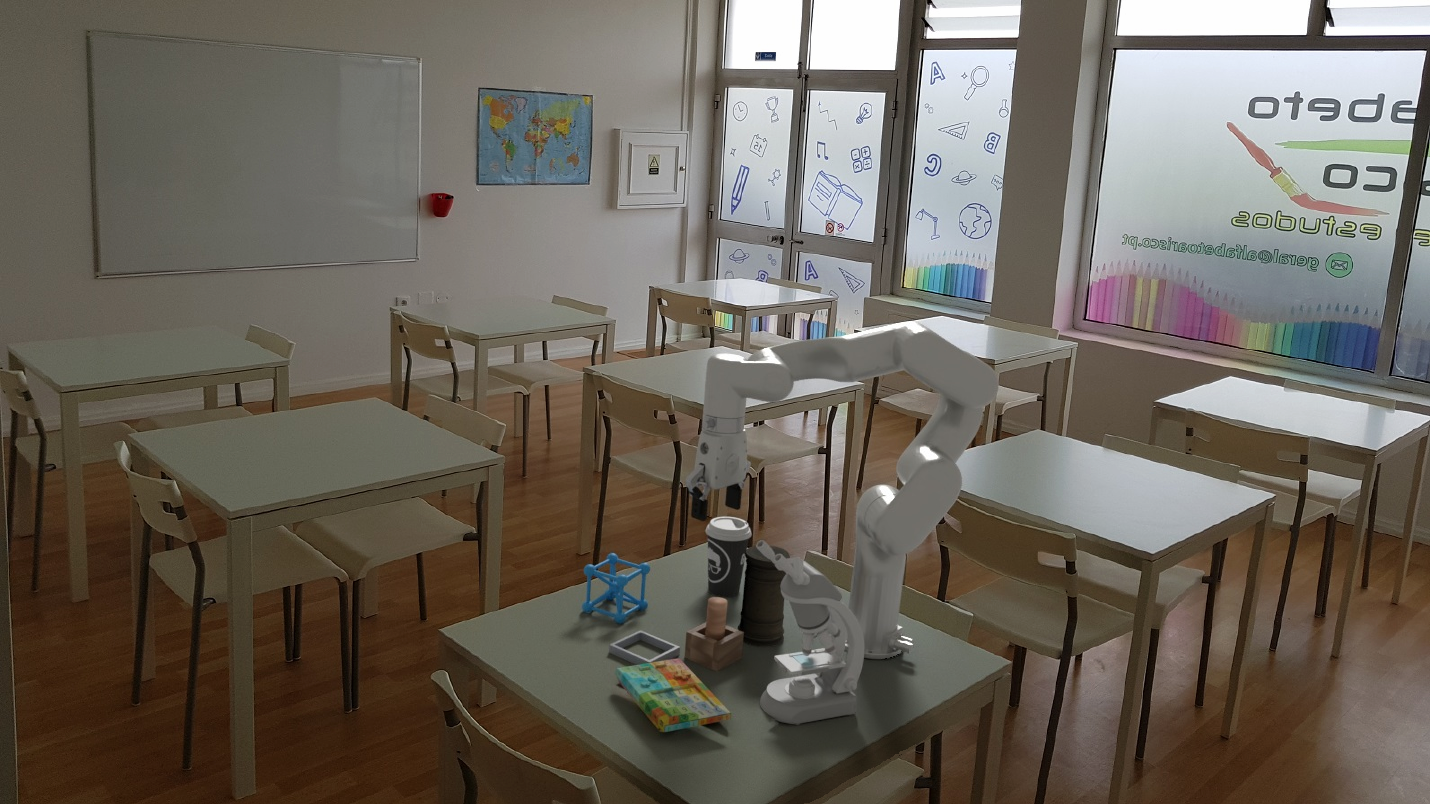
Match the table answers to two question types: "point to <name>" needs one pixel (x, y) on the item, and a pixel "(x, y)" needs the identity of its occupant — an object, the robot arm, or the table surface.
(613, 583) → the molecular structure
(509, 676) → the table surface
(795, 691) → the microscope
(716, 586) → the coffee cup
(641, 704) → the puzzle game
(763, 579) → the container
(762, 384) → the robot arm
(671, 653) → the tray
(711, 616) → the dowel
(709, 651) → the pin cup
